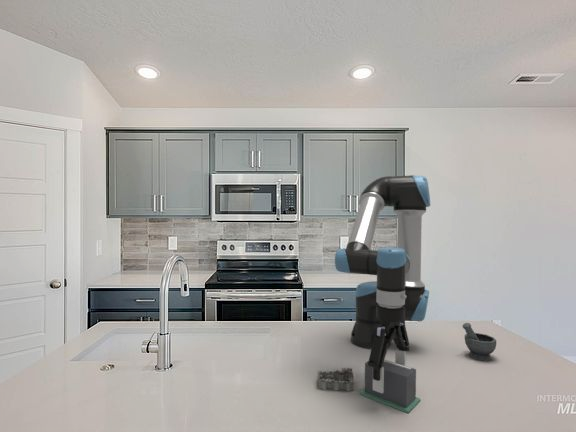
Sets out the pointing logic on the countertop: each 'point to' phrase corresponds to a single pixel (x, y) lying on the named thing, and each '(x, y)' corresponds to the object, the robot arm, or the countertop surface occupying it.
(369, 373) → the block
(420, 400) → the board
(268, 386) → the countertop surface
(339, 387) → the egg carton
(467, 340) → the mortar and pestle
